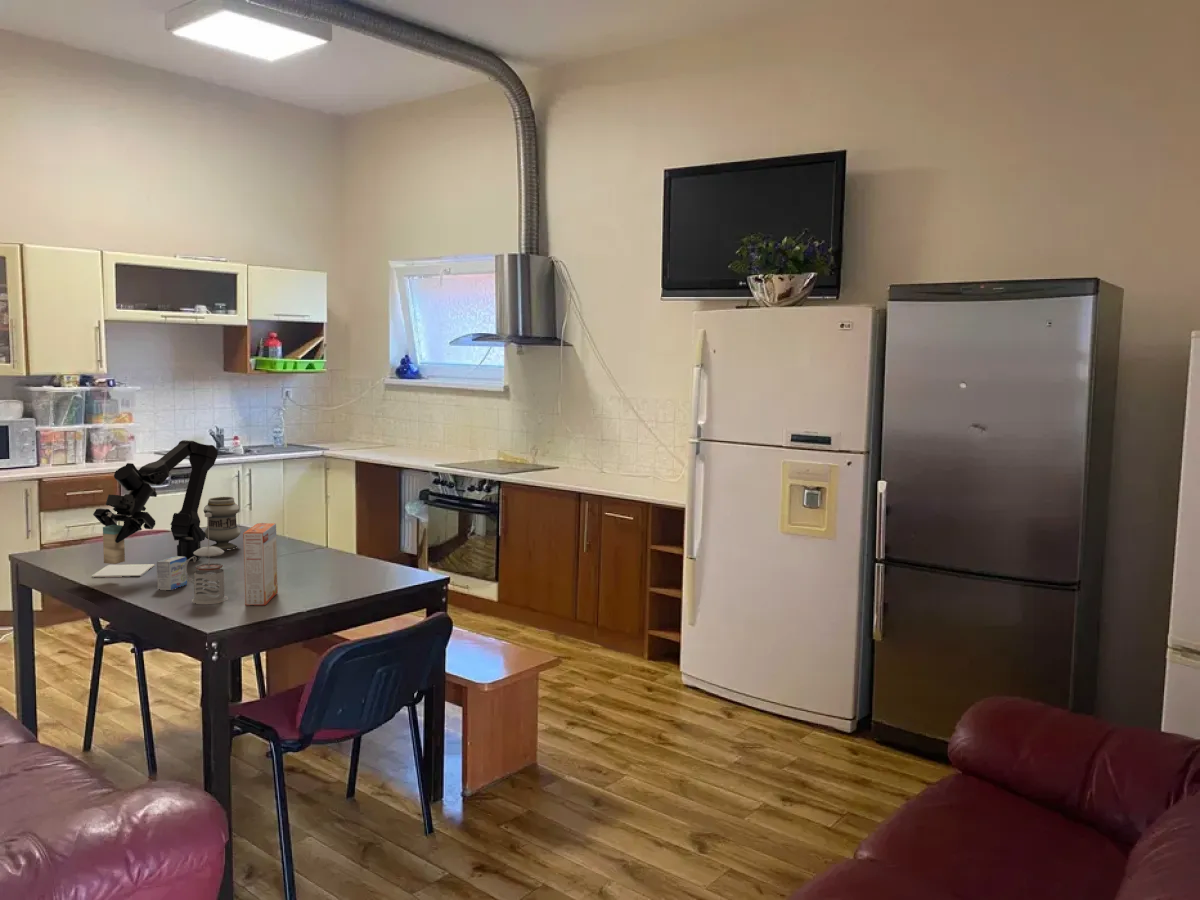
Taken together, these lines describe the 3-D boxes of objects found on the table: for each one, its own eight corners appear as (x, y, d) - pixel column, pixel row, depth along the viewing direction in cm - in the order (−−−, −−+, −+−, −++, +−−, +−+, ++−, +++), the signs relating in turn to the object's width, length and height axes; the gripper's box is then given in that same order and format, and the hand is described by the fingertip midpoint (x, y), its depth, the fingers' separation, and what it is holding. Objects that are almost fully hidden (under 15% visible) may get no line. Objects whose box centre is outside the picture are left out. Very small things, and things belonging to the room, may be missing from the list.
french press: (222, 604, 261) (220, 515, 259) (178, 604, 260) (176, 515, 258) (232, 595, 271) (231, 509, 269) (191, 595, 270) (189, 509, 268)
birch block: (114, 560, 287) (112, 524, 286) (124, 561, 286) (123, 525, 285) (103, 563, 283) (102, 527, 282) (114, 564, 282) (113, 528, 281)
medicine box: (170, 591, 274) (169, 562, 273) (157, 590, 275) (156, 561, 274) (187, 585, 282) (186, 556, 281) (174, 583, 283) (173, 555, 282)
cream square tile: (154, 566, 305) (154, 564, 304) (140, 576, 290) (140, 575, 290) (108, 566, 302) (108, 564, 302) (91, 577, 287) (91, 575, 287)
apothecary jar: (196, 550, 329) (195, 499, 327) (217, 544, 341) (217, 494, 339) (227, 552, 326) (226, 501, 325) (247, 546, 338) (246, 496, 336)
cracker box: (257, 593, 274) (256, 522, 272) (278, 593, 274) (277, 522, 272) (243, 606, 260) (242, 531, 258) (265, 606, 261) (264, 531, 258)
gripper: (96, 482, 288) (68, 523, 279) (147, 485, 283) (121, 528, 274) (117, 503, 296) (90, 545, 287) (166, 507, 292) (141, 549, 282)
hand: (110, 541), depth 282 cm, fingers closed on birch block, 4 cm apart
